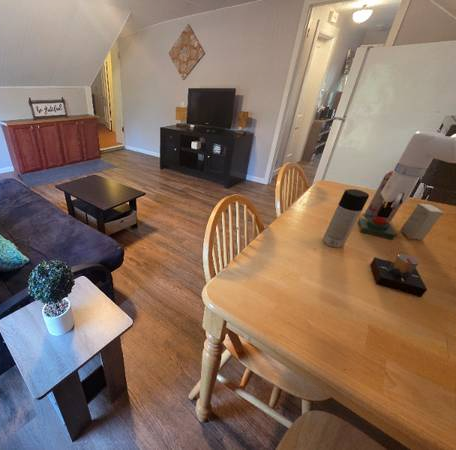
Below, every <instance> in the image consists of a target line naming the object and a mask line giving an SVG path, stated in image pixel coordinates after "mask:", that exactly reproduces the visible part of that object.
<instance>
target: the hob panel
mask: <svg viewBox="0 0 456 450" xmlns="http://www.w3.org/2000/svg"><path fill="white" fill-rule="evenodd" d="M393 262H394V261H391V260H386V259H383V258H379V257H373V259H372V260H371V262H370V264H369V265H370V268H371V272H372V275H373V279H374V282H375V285H378V286H381V287H385V288H388V289H392V290H395V291H399V292H402V293H405V294H408V295H411V296H416V297H418V298H422V296H423V295H424V294H425V293H426V292H427V290H428V289H427V286H426V285H425V283H424V281H423V279H422V277H421V275H420V273H419V272H418V270H417V267H415V269H414V270H413V271H412V273H411V274H410V275H409V276H408V277H401V276H398V275H396V274H394V273H392V272H391V271H390V269H389V268H390V267H391V265H392V264H393Z"/></svg>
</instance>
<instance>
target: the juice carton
mask: <svg viewBox="0 0 456 450" xmlns="http://www.w3.org/2000/svg"><path fill="white" fill-rule="evenodd" d="M393 173H394V172H393V170H391V171H389V172H387V173H385V174H384V176H383V177H382V180H381V182H380V184H379V186H378V188H377V189H376V192H375V193H374V195H373V197H372V200H370V202H369V205H368V207H367V208H366V209H365V212H364V214H363V216H364V217H367V218H368V219H369V218H375V217H378V216H377V212H378V211H379V209H380V207H381V205H382V203H383V201H384V198H383V197H382V195H381V191H382V189H383V188H384V186H385V185H386V183H387V181H388V180H389V178H390V177H391V175H392V174H393ZM401 205H402V204H401ZM401 205H400V204H398V206H397V208H394V209H393V210H392V212H391V214H390V215H389V217H388V218H385V219H386V220H387V222H388V223H390V222H392V220H393V219H394V218H395V215H397V212H398V210H399V209H400V207H401ZM382 206H384V205H382ZM382 218H383V217H382Z"/></svg>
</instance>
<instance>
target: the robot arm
mask: <svg viewBox="0 0 456 450" xmlns="http://www.w3.org/2000/svg"><path fill="white" fill-rule="evenodd" d="M407 143H408V144H407V146H406V147H405V148H404V151H403V153H402V154H401V156H400V157H399V160H398V162H397V163H396V165H395V167H394V169H392V171H393V172H394V173H393V174H392V175H391V177H390V178H389V180H388V181H387V183H386V185H385V186H384V188H383V189H382V191H381V195H382V197H383V198H384V201H383V203H382V205H384V206H382V205H381V207H380V209H379V211H378V212H377V216H378V217H383V218H388V217H389V215H390V214H391V212H392V210H393V209H394V208H397V206H398V204H400V205H403V204H404V203H405V202H406V201H407V199H408V198H409V196H410V195H411V192H412V191H413V189H414V188H415V185H416V184H417V181H418V179H421V178H422V177H423V175H424V174H425V173H426V171H427V169H428V168H429V167H430V164H432V161H433V160H434V159H435V160H439V161H443V162H445V163H449V164H450V163H451V164H456V133H454V134H452V135H451V136H446V135H445V134H444V133H443V132H442V133H441V132H437V131H430V130H420V131H419V130H418V131H416V132H415V133H414V134H413V135H412V136H411V138H410V140H409V142H407Z"/></svg>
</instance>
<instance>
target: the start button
mask: <svg viewBox="0 0 456 450" xmlns="http://www.w3.org/2000/svg"><path fill="white" fill-rule="evenodd" d="M386 221H387V220H386V219H385V218H382V217H375V218H374V220H373V222H375V223H377V224H381V225H385V223H386Z"/></svg>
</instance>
